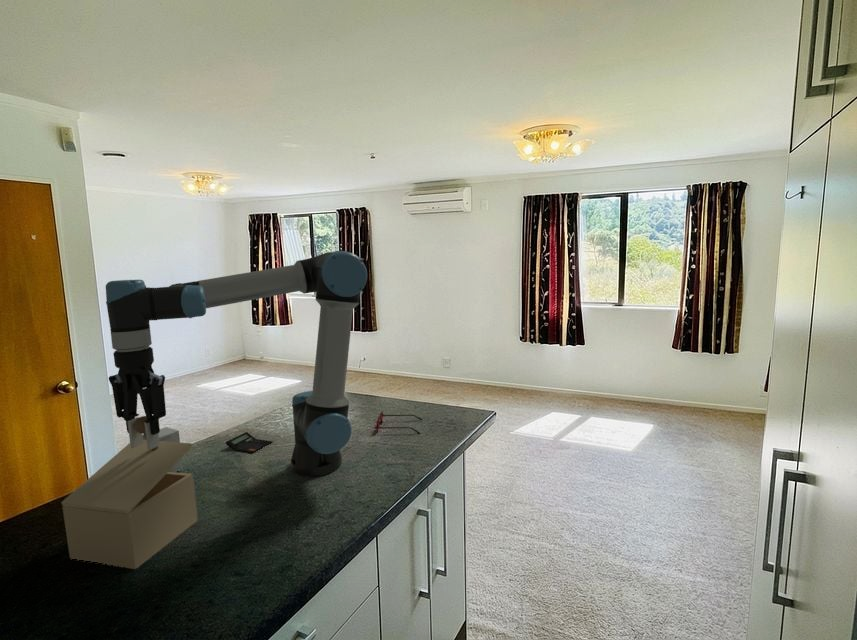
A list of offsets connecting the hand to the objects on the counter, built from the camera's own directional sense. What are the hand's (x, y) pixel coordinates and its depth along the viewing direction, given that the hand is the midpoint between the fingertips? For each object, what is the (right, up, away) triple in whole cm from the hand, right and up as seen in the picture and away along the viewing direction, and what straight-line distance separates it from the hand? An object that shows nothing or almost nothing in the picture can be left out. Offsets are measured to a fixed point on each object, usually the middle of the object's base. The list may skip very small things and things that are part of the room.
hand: (145, 446), depth 107 cm
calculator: (+5, -14, +50) cm, 52 cm away
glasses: (+55, -11, +64) cm, 85 cm away
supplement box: (-14, -17, +32) cm, 38 cm away
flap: (-1, -5, -4) cm, 6 cm away
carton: (0, -21, -2) cm, 21 cm away
